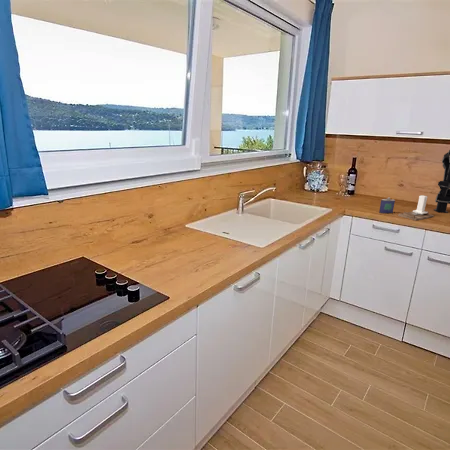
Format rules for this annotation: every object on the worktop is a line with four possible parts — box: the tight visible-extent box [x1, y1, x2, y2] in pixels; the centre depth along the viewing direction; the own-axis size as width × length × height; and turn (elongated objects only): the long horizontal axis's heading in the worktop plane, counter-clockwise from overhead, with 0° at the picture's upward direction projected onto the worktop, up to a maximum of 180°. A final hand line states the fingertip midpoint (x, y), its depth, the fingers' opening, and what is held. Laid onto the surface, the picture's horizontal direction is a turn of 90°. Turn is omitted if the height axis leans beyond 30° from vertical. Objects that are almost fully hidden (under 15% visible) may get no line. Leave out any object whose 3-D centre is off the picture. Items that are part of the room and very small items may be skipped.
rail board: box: [397, 210, 435, 221], centre depth 214 cm, size 20×12×3 cm, turn 121°
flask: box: [378, 196, 396, 215], centre depth 219 cm, size 9×3×11 cm, turn 95°
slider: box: [412, 195, 429, 214], centre depth 214 cm, size 6×6×11 cm
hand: (447, 196), depth 213 cm, fingers open, 9 cm apart
